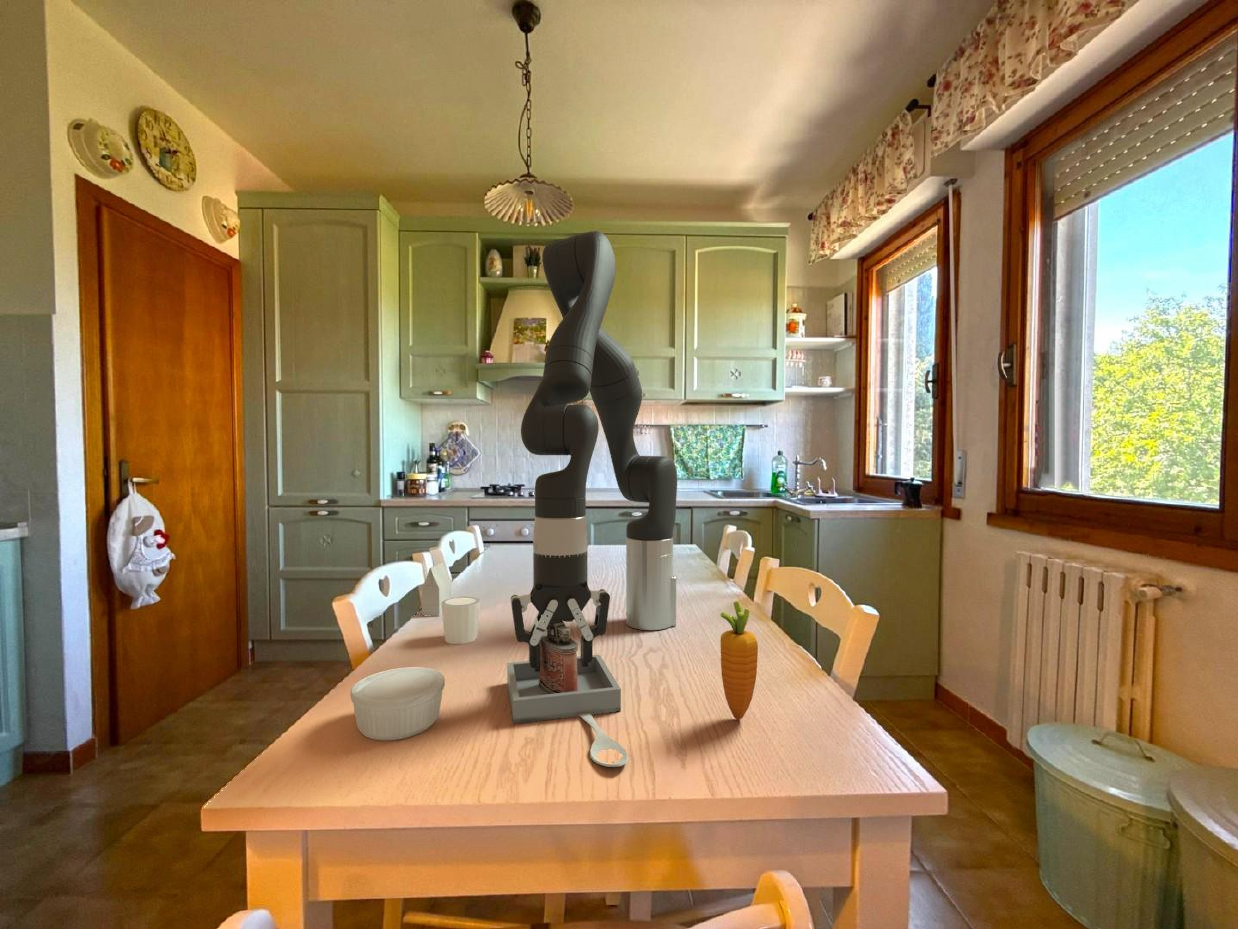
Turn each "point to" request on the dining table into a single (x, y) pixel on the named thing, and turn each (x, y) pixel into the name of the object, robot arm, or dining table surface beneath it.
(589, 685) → the tray
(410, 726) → the ramekin
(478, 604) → the cream cup
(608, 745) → the spoon
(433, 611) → the white milk carton
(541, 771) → the dining table surface
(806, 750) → the dining table surface
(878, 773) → the dining table surface
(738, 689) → the carrot
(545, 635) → the lighter
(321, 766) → the dining table surface
